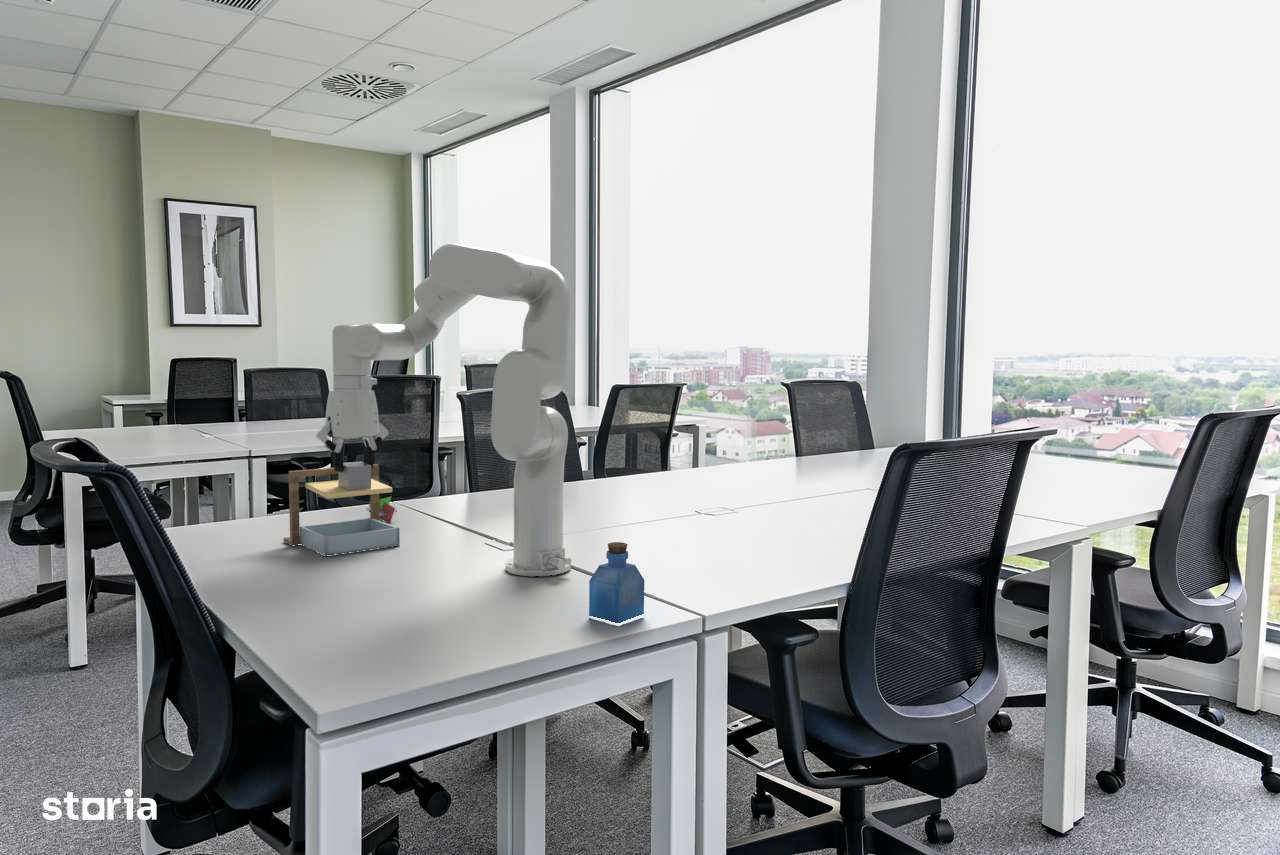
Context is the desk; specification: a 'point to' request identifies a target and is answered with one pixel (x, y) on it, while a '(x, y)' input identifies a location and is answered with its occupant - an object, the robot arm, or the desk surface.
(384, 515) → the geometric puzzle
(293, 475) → the bracket
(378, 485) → the flap
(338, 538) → the tray
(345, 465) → the gray cube
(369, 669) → the desk surface
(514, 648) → the desk surface
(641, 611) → the perfume bottle
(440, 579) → the desk surface
